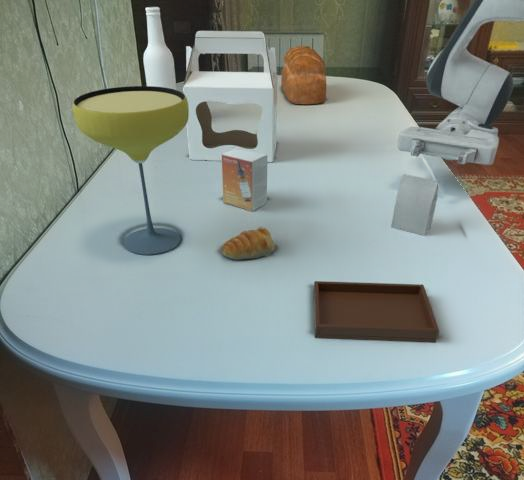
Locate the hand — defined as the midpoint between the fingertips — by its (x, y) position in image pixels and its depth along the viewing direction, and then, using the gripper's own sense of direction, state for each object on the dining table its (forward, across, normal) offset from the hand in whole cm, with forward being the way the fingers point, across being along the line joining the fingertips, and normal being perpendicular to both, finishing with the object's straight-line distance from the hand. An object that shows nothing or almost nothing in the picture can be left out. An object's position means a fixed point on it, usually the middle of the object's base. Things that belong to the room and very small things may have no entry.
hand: (437, 156), depth 102 cm
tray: (+45, +4, +10) cm, 46 cm away
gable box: (-9, -55, +11) cm, 56 cm away
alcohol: (-24, -90, +11) cm, 94 cm away
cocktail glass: (+42, -41, +11) cm, 60 cm away
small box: (+18, -35, +11) cm, 41 cm away
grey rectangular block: (+12, 0, +11) cm, 16 cm away
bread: (-75, -67, +11) cm, 101 cm away
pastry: (+36, -22, +11) cm, 44 cm away
